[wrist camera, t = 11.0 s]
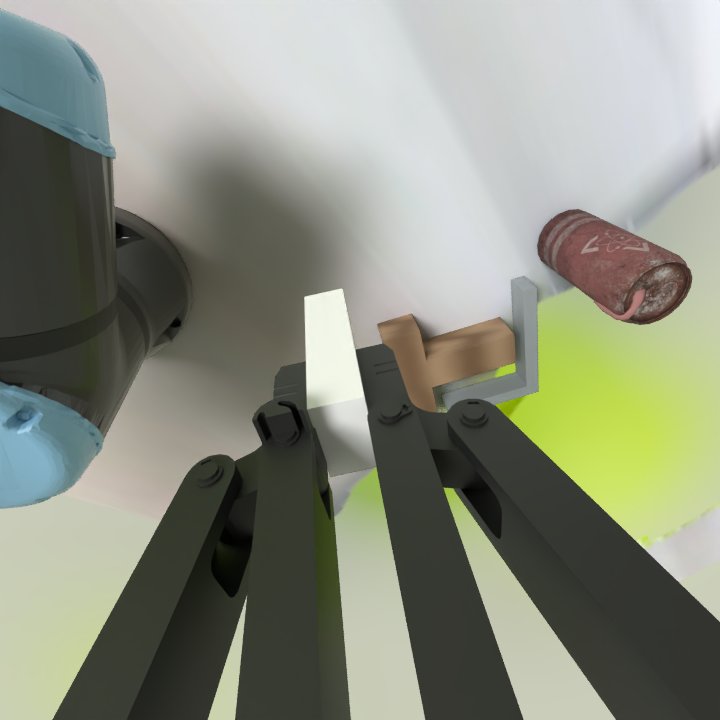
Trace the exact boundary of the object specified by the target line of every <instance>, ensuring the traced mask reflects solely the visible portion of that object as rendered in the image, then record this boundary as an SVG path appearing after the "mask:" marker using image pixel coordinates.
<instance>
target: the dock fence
mask: <svg viewBox="0 0 720 720" xmlns="http://www.w3.org/2000/svg"><path fill="white" fill-rule="evenodd" d="M511 295H512V312H513V330H514V337H515V355H516V363H515V365H516V372H515V373H511V374H508V375H505V376H501V377H497V378H494V379H491V380H487V381H484V382H481V383H477V384H474V385H471V386H467V387H464V388H460V389H457V390H454V391H450V392H447V393H444V394H442V399H443V403H444V405H445V407H446V409H447V412H448V410H449V409H450V408H451V406H452V405H454V404H455V403H457V402H458V401H461V400H465V399H481V400H485V401H488V402H490V403H492V404H493V405H495V404H498V403H502V402H505V401H508V400H512V399H515V398H519V397H522V396H525V395H529V394H532V393H536V392H538V328H537V327H538V325H537V287H536V286H535V285H534V284H533V283H531V282H530V281H529V280H528V279H527V278H526V277H524V276H522V277H519V278H515V279H512V280H511Z"/></svg>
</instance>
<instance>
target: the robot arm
mask: <svg viewBox="0 0 720 720" xmlns="http://www.w3.org/2000/svg"><path fill="white" fill-rule="evenodd" d="M113 159H116V152H115V149H114V147H113V146H112V145H111V143H110V133H109V123H108V113H107V103H106V93H105V86H104V81H103V78H102V75H101V73H100V71H99V69H98V67H97V65H96V64H95V62H94V61H93V59H92V58H91V57H90V56H89V54H88V53H87V52H86V51H85V50H84V49H83V48H82V47H81V46H80V45H79V44H77V43H76V42H75V41H73V40H72V39H70V38H69V37H67V36H65V35H63V34H61V33H59V32H57V31H54V30H52V29H50V28H47V27H45V26H42V25H40V24H37V23H35V22H33V21H30V20H28V19H25V18H23V17H20V16H18V15H15V14H13V13H10V12H8V11H5V10H3V9H1V8H0V509H3V508H14V507H22V506H28V505H32V504H37V503H40V502H43V501H45V500H48V499H50V498H51V497H53V496H56V495H59V494H61V493H63V492H65V491H67V490H68V489H69V488H71V487H72V486H73V485H74V484H75V483H76V482H77V481H78V480H79V479H80V478H81V476H82V475H83V473H84V472H85V470H86V469H87V467H88V466H89V464H90V463H91V461H92V460H93V458H94V457H95V456H96V455H98V453H99V452H100V451H101V449H102V444H103V441H104V438H105V436H106V434H107V432H108V430H109V428H110V426H111V424H112V422H113V420H114V418H115V416H116V414H117V412H118V410H119V408H120V406H121V404H122V402H123V400H124V398H125V396H126V394H127V393H128V391H129V389H130V387H131V385H132V383H133V381H134V379H135V377H136V375H137V373H138V371H139V369H140V367H141V365H142V363H143V361H144V360H146V359H148V358H149V357H151V356H152V355H154V354H155V353H157V352H158V351H160V350H161V349H163V348H164V347H166V346H167V345H168V344H169V343H171V342H172V341H173V340H174V339H175V337H176V336H177V335H178V334H179V332H180V331H181V329H182V327H183V325H184V323H185V321H186V319H187V317H188V314H189V312H190V308H191V304H192V284H191V280H190V276H189V273H188V270H187V268H186V265H185V263H184V261H183V259H182V258H181V256H180V254H179V253H178V252H177V250H176V249H175V247H174V246H173V245H172V244H171V243H170V242H169V240H168V239H167V238H166V237H165V236H164V235H163V234H162V233H160V232H159V231H158V230H157V229H156V228H154V227H153V226H152V225H150V224H149V223H147V222H146V221H144V220H143V219H141V218H139V217H137V216H136V215H134V214H132V213H129V212H127V211H125V210H122V209H120V208H117V207H114V183H113ZM304 300H305V344H306V362H302V363H297V364H293V365H288V366H284V367H281V369H280V371H279V372H278V374H277V375H276V377H275V385H274V389H275V390H274V399H273V400H272V401H269V402H268V403H266V404H264V405H263V406H261V407H260V408H259V409H258V410H257V412H256V413H255V414H254V417H253V419H252V421H253V424H254V426H255V428H256V430H257V432H258V435H259V437H260V439H261V441H262V446H261V447H259V448H258V449H257V450H256V451H254V452H252V453H250V454H249V455H247V456H244V457H242V458H240V459H238V460H236V461H234V460H233V459H232V458H230V457H229V456H227V455H221V454H219V455H213V456H209V457H207V458H205V459H203V460H201V461H199V462H198V463H197V464H196V465H194V466H193V467H192V468H191V469H190V471H189V472H188V473H187V475H186V476H185V478H184V480H183V482H182V484H181V485H180V487H179V489H178V491H177V493H176V495H175V496H174V498H173V500H172V502H171V504H170V506H169V507H168V509H167V511H166V513H165V515H164V517H163V518H162V520H161V522H160V524H159V526H158V527H157V529H156V531H155V533H154V535H153V537H152V538H151V541H150V542H149V544H148V546H147V548H146V550H145V551H144V553H143V555H142V557H141V559H140V561H139V562H138V564H137V566H136V568H135V570H134V571H133V573H132V575H131V577H130V579H129V581H128V582H127V584H126V586H125V588H124V590H123V592H122V594H121V595H120V597H119V599H118V601H117V603H116V604H115V606H114V608H113V610H112V612H111V614H110V616H109V617H108V619H107V621H106V623H105V625H104V626H103V628H102V630H101V632H100V634H99V635H98V637H97V639H96V641H95V643H94V645H93V646H92V649H91V650H90V652H89V654H88V656H87V657H86V659H85V661H84V663H83V665H82V667H81V668H80V670H79V672H78V674H77V676H76V678H75V679H74V681H73V683H72V685H71V687H70V689H69V690H68V692H67V694H66V696H65V698H64V699H63V701H62V703H61V705H60V707H59V709H58V710H57V712H56V714H55V716H54V718H53V720H208V717H209V713H210V710H211V707H212V704H213V701H214V697H215V694H216V691H217V688H218V684H219V682H220V678H221V675H222V672H223V669H224V666H225V663H226V659H227V656H228V653H229V650H230V646H231V643H232V640H233V637H234V634H235V631H236V628H237V624H238V621H239V618H240V615H241V612H242V609H243V605H244V602H245V599H246V596H247V604H246V614H245V624H244V635H243V645H242V655H241V665H240V675H239V686H238V697H237V707H236V717H235V720H351V717H350V705H349V692H348V681H347V668H346V656H345V644H344V631H343V619H342V608H341V595H340V583H339V571H338V558H337V548H336V547H337V546H336V534H335V522H334V510H333V497H332V491H331V488H330V485H329V482H328V472H329V475H330V477H333V476H338V475H343V474H347V473H352V472H356V471H361V470H366V469H370V468H375V467H377V472H378V477H379V483H380V488H381V493H382V498H383V503H384V508H385V513H386V518H387V524H388V529H389V534H390V539H391V544H392V550H393V554H394V560H395V565H396V570H397V575H398V580H399V586H400V591H401V596H402V601H403V606H404V611H405V617H406V622H407V627H408V631H409V637H410V643H411V648H412V652H413V658H414V663H415V668H416V674H417V678H418V684H419V689H420V694H421V699H422V704H423V710H424V715H425V720H523V717H522V714H521V711H520V708H519V705H518V703H517V699H516V697H515V694H514V691H513V688H512V685H511V682H510V679H509V676H508V673H507V671H506V668H505V665H504V662H503V659H502V657H501V653H500V650H499V647H498V645H497V642H496V639H495V636H494V633H493V630H492V627H491V624H490V621H489V618H488V616H487V613H486V610H485V607H484V604H483V601H482V598H481V595H480V593H479V590H478V587H477V584H476V581H475V578H474V575H473V572H472V570H471V566H470V564H469V561H468V558H467V555H466V552H465V549H464V546H463V544H462V540H461V538H460V535H459V532H458V529H457V526H456V523H455V521H454V517H453V514H452V512H451V509H450V506H449V503H448V500H447V498H446V494H445V492H444V488H443V487H445V488H454V490H455V492H456V494H457V495H458V496H459V498H460V499H461V501H462V502H463V503H464V505H465V506H466V508H467V509H468V511H469V512H470V513H471V515H472V516H473V518H474V519H475V520H476V522H477V523H478V525H479V526H480V528H481V529H482V530H483V532H484V533H485V535H486V536H487V538H488V539H489V540H490V542H491V543H492V545H493V546H494V547H495V549H496V550H497V552H498V553H499V555H500V556H501V557H502V559H503V560H504V561H505V563H506V564H507V566H508V567H509V569H510V570H511V572H512V573H513V574H514V576H515V577H516V578H517V580H518V581H519V583H520V584H521V586H522V587H523V588H524V590H525V591H526V593H527V594H528V596H529V597H530V598H531V600H532V601H533V603H534V604H535V606H536V607H537V608H538V610H539V611H540V613H541V614H542V615H543V617H544V618H545V620H546V621H547V623H548V624H549V625H550V627H551V628H552V630H553V631H554V632H555V634H556V635H557V637H558V638H559V639H560V641H561V642H562V644H563V645H564V647H565V648H566V649H567V651H568V652H569V654H570V655H571V657H572V658H573V659H574V661H575V662H576V663H577V665H578V666H579V668H580V669H581V671H582V672H583V674H584V675H585V676H586V678H587V679H588V681H589V682H590V683H591V685H592V686H593V688H594V689H595V691H596V692H597V693H598V695H599V696H600V698H601V699H602V700H603V702H604V703H605V705H606V706H607V708H608V709H609V710H610V712H611V713H612V715H613V716H614V717H615V719H616V720H720V622H719V621H718V620H717V619H716V618H715V617H714V616H713V615H712V614H711V613H710V612H709V611H708V610H707V609H706V608H705V607H704V606H703V605H701V604H700V603H699V601H697V600H696V599H695V598H694V597H693V596H692V595H691V594H690V593H689V592H688V591H687V590H686V589H685V588H684V587H683V586H682V585H681V584H680V583H679V582H678V581H677V580H676V579H675V578H674V577H673V576H672V575H670V574H669V573H668V572H667V571H666V570H665V569H664V568H663V567H662V566H661V565H660V564H659V563H658V562H657V561H656V560H655V559H654V558H653V557H652V556H651V555H650V554H649V553H648V552H647V551H646V550H645V549H643V548H642V547H641V546H640V545H639V544H638V543H637V542H636V541H635V540H634V539H633V538H632V537H631V536H630V535H629V534H628V533H627V532H626V531H625V530H624V529H623V528H622V527H621V526H620V525H619V524H618V523H616V522H615V521H614V520H613V519H612V518H611V517H610V516H609V515H608V514H607V513H606V512H605V511H604V510H603V509H602V508H601V507H600V506H599V505H598V504H597V503H596V502H595V501H594V500H593V499H591V497H590V496H588V495H587V494H586V493H585V492H584V491H583V490H582V489H581V488H580V487H579V486H578V485H577V484H576V483H575V482H574V481H573V480H572V479H571V478H570V477H569V476H568V475H567V474H566V473H565V472H564V471H563V470H561V469H560V468H559V467H558V466H557V465H556V464H555V463H554V462H553V461H552V460H551V459H550V458H549V457H548V456H547V455H546V454H545V453H544V452H543V451H542V450H541V449H539V447H538V446H537V445H535V444H534V443H533V442H532V441H531V440H530V439H529V438H528V437H527V436H526V435H525V434H524V433H523V432H522V431H521V430H520V429H519V428H518V427H517V426H516V425H515V424H514V423H513V422H512V421H511V420H510V419H509V418H508V417H506V416H505V415H504V414H503V413H502V412H501V411H500V410H499V409H498V408H497V407H496V406H495V405H493V404H492V403H490V402H488V401H485V400H481V399H465V400H461V401H458V402H457V403H455V404H454V405H452V406H451V408H450V409H449V410H448V412H447V413H438V412H428V411H425V410H422V409H420V408H418V407H416V406H415V405H414V404H413V403H412V402H411V400H410V398H409V396H408V393H407V390H406V387H405V384H404V381H403V378H402V375H401V372H400V370H399V366H398V364H397V361H396V358H395V355H394V352H393V350H392V349H390V348H389V347H388V346H387V345H385V344H380V345H375V346H370V347H366V348H361V349H357V350H356V347H355V343H354V338H353V334H352V329H351V325H350V320H349V316H348V311H347V307H346V302H345V298H344V293H343V289H337V290H333V291H328V292H323V293H319V294H314V295H310V296H305V297H304ZM327 469H328V471H327Z"/></svg>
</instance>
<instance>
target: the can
mask: <svg viewBox="0 0 720 720" xmlns="http://www.w3.org/2000/svg"><path fill="white" fill-rule="evenodd" d="M537 246H538V255H539V257H540V259H541V261H543V262H544V263H545V264H546V265H548V266H549V267H550V268H552V269H553V270H554V271H556V272H557V273H558V274H560V275H561V276H562V277H564V278H565V279H566V280H568V281H569V282H570V283H572V284H573V285H574V286H576V287H577V288H578V289H580V290H581V291H582V292H584V293H585V294H586V295H588V296H589V297H590V298H592V299H593V300H594V302H595V304H597V306H599V308H600V309H601V310H602V311H603V312H605V313H607V314H608V315H610V316H611V317H613V318H614V319H616V320H621V321H623V322H628V323H634V324H639V325H642V324H650V323H653V322H656V321H659V320H661V319H663V318H664V317H666V316H668V315H669V314H670V313H672V312H673V311H674V310H675V309H676V308H677V307H678V306H679V305H680V304H681V303H682V302H683V300H684V299H685V298H686V296H687V294H688V292H689V290H690V288H691V283H692V275H691V271H690V269H689V268H688V267H687V264H686V262H685V261H684V260H683V259H682V258H681V257H680V256H679V255H677V254H674V253H672V252H670V251H668V250H666V249H664V248H662V247H660V246H658V245H655V244H653V243H651V242H649V241H647V240H645V239H643V238H641V237H638V236H636V235H634V234H632V233H630V232H628V231H626V230H624V229H621V228H619V227H617V226H615V225H613V224H611V223H609V222H607V221H604V220H602V219H600V218H598V217H596V216H594V215H592V214H589V213H587V212H585V211H582V210H579V209H576V210H568V211H565V212H563V213H560V214H558V215H557V216H555V217H554V218H553V219H551V220H550V221H549V222H548V223H547V224H546V225H545V227H544V228H543V230H542V232H541V234H540V236H539V241H538V245H537Z"/></svg>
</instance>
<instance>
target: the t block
mask: <svg viewBox="0 0 720 720" xmlns="http://www.w3.org/2000/svg"><path fill="white" fill-rule="evenodd" d="M377 325H378V328H379V332H380V335H381V339H382V342H383V344H385V345H387V346H388V347H389V348H390V349H392V350H393V352H394V355H395V358H396V361H397V364H398V366H399V370H400V372H401V375H402V378H403V381H404V384H405V387H406V390H407V393H408V396H409V398H410V400H411V402H412V403H413V404H414V405H415V406H416V407H418V408H420V409H422V410H425V411H428V412H437V407H436V403H435V398H434V394H433V389H432V387H435V386H439V385H442V384H445V383H449V382H452V381H456V380H459V379H462V378H466V377H469V376H472V375H476V374H479V373H482V372H486V371H489V370H493V369H496V368H499V367H503V366H506V365H509V364H513V363H516V355H515V337H514V333H513V332H512V331H511V330H510V329H509V328H508V326H507V325H506V324H505V323H504V322H503V320H502V319H501V318H500V317H498V318H495V319H492V320H488V321H485V322H482V323H478V324H475V325H472V326H469V327H465V328H462V329H459V330H455V331H452V332H449V333H445V334H442V335H439V336H435V337H432V338H429V339H426V340H422V338H421V334H420V330H419V328H418V326H417V324H416V322H415V320H414V318H413V316H412V314H408V315H405V316H402V317H399V318H395V319H392V320H389V321H385V322H382V323H379V324H377Z"/></svg>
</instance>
